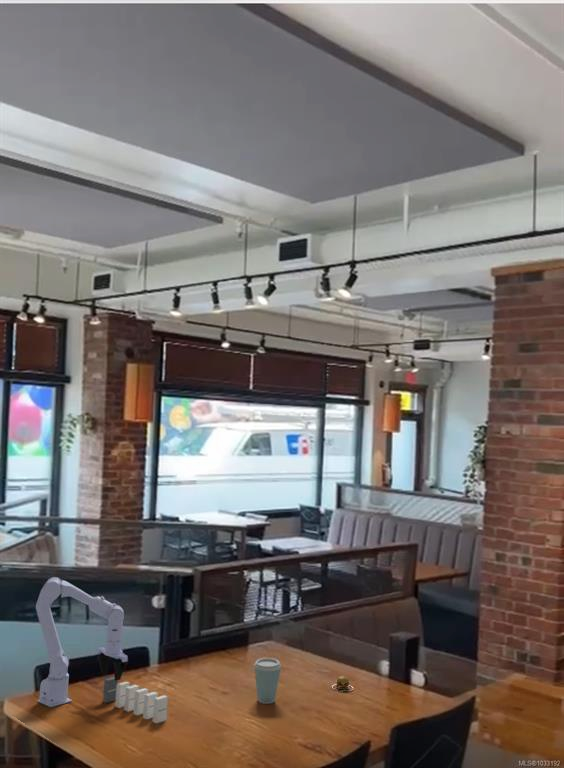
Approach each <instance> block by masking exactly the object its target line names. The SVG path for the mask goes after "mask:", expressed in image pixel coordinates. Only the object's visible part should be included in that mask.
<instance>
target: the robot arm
mask: <svg viewBox="0 0 564 768" xmlns="http://www.w3.org/2000/svg"><path fill="white" fill-rule="evenodd" d="M60 595H61V596H60ZM58 597H60V598H66V597H71V598H73V599H74V600H77V601H79V602H80V603H83V604H85V605H87V606H88V607H89V608H88V609H89V611H91V612H93V613H94V614H95V615H97V616H100V617H102V618H104V619H107V620H108V621H107V622H108V624H107V627H106V638H105V647H104V646H102V647H98V649H97V651H98V654H99V655H97V656H96V659H97V661H98V663H99V667H100V671H101V672H100V673H101V676H107V675H108V673H109V672H108V671H109V665H110V661H111V659H112V658H113V659H116V660H114V661H112V664H113V667H114V668H113V669H114V677H115V680H116V681H117V680H118V681H119V680H121V679H122V676H123V672H124V670H125V669H126V666H127V665H128V663H129V658H128V655H126V654H125V653H124V652H123V650H122V642H123V641H122V640H123V629H124V628H123V626H124V623H123V622H124V621H125V616H124V615H125V614H124V613H125V612H124V609H123V608H122V607H121V606H120V604H116V603H114V602H113V603H111V602H110V601H108V600H106V598H105V597H104V596H103V595H101V596H98V595H97V596H91V595H90V594H88V593H86V592H85V591H83V590H82V589H81V588H78V587H77V586H75V585H73V584H72V583H70V582H68V581H66V580H63V579H61V578H59V577H56V576H52V577H50V578H48V579H47V581H46V582H45V583H44V584H43V586H42V587H41V590H40V592H39V596H38V599H37V601H36V604H35V610H36V613H37V617H38V622H39V625H40V628H41V631H42V636H43V638H44V642H45V645H46V649H47V654H48V659H49V661H48V662H49V664H50V665H49V673H48V676H47V677H46V678H45V679H43V680H42V681H41V682H40V686H39V697H38V700H37V702H38V703H40V704H42V705H45V706H47V707H49V708H53V707H56V706H60V705H64V704H67V703H71V702H73V699H72V698H69V697H68V691H69V678H70V674H69V673H68V669H69V668H68V667H69V664H70V659H69V657H68V656H67V655H66V653H65V651H64V649H63V648H62V645H61V641H60V638H59V634H58V630H57V628H56V624H55V623H56V622H55V620H54V617H53V613H52V609H51V605H52V604H53V602H54V601H55V600H57V599H58ZM118 681H117V682H118Z"/></svg>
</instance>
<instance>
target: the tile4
mask: <svg viewBox="0 0 564 768" xmlns="http://www.w3.org/2000/svg"><path fill="white" fill-rule="evenodd" d="M148 693H149V689H148V688H146V687H144V688H139V690H136V691H135V699H134V710H133V715H134V716H140V715H143V710H144V696H145V694H148Z"/></svg>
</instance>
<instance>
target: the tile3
mask: <svg viewBox="0 0 564 768" xmlns="http://www.w3.org/2000/svg"><path fill="white" fill-rule="evenodd" d="M136 690H140V685H138V684H132V685H130V686H129V687H126V692H125V706H124V707H123V708H124V709H123V710H124V711H125V712H131V711H134V699H135V691H136Z"/></svg>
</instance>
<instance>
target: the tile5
mask: <svg viewBox="0 0 564 768" xmlns="http://www.w3.org/2000/svg"><path fill="white" fill-rule="evenodd" d="M156 697H159V692H156V691H151V692H148V694H145V696H144V710H143V714H142V718H143V719H145V720H150V719H151V718H152V719H153V710H154V698H156Z"/></svg>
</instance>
